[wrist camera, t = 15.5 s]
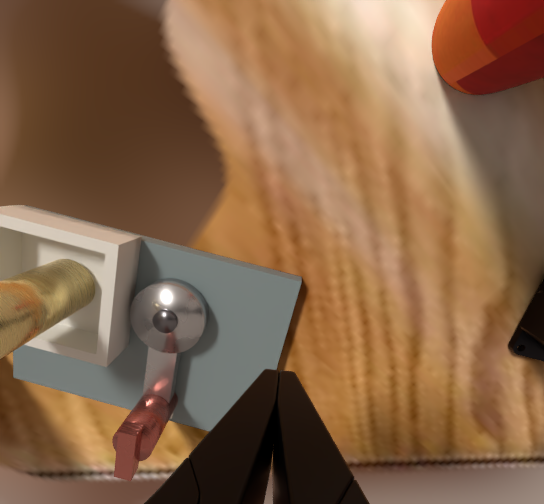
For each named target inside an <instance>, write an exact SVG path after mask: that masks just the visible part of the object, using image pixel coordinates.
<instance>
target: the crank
mask: <svg viewBox="0 0 544 504" xmlns="http://www.w3.org/2000/svg"><path fill="white" fill-rule="evenodd" d="M130 320H131V324H132V327H133V329H134V331H135V333H136V334H137V336H138V337H139V338H140V339H141V341H143V342H144V343H145V344H146V345H147V346H149V348H148V357H147V365H146V373H145V381H144V389H143V395H142V397H141V398H140V400H139V401H138V402H137V404H136V405H135V407H134V408H133V409H132V411H131V412H130V414H129V415H128V416H127V418H126V419H125V421H124V422H123V423H122V425H121V426H120V428H119V429H118V430H117V432H116V433H115V435H114V436H113V446H114V449H115V450H116V461H115V471H114V477H118V478H121V479H125V480H129V481H131V480H132V478H133V476H134V474H135V473H136V471H137V469H138V463H139V461H143V460H145V459H147V458H148V457H149V456H150V454H151V453H152V451H153V449H154V447H155V445H156V443H157V441H158V439H159V438H160V436H161V434H162V432H163V430H164V428H165V426H166V424H167V423H168V421H169V419H170V417H171V415H172V413H173V411H174V409H175V408H176V406H177V403H178V398H177V395H176V393H175V387H176V380H177V374H178V368H179V362H180V355H181V352H184V351H186V350H188V349H190V348H191V347H193V346H194V345H195V344H196V343H197V342H198V340H199V339H200V337H201V335H202V334H203V332H204V330H205V329H206V327H207V324H208V320H209V310H208V306H207V303H206V301H205V299H204V297H203V296H202V294H201V293H200V292H199V291H198V290H197V289H196V288H195V287H194V286H192V285H191V284H189V283H187V282H185V281H183V280H180V279H175V278H165V279H160V280H157V281H155V282H153V283H152V284H150V285H149V286H148V287H146V288H145V289H143V290H142V291H141V292H139V293H138V294H137V296H136V297H135V298H134V300H133V302H132V305H131V309H130Z"/></svg>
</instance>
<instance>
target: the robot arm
mask: <svg viewBox="0 0 544 504" xmlns="http://www.w3.org/2000/svg"><path fill="white" fill-rule="evenodd" d="M519 345H521V346H520V347H518V346H519ZM517 347H518V348H517ZM509 348H510V349H511V350H512V351H513V352H514V353H516V354H518V355H522V356H525V357H529V358H533V359H537V360H541V361H544V279H543V281H542V283H541V285H540V287H539V288H538V290H537V292H536V294H535V296H534V298H533V300H532V301H531V303H530V305H529V307H528V309H527V311H526V313H525V315H524V316H523V318H522V320H521V322H520V324H519V326H518V328H517V330H516V331H515V333H514V335H513V337H512V339H511V341H510V343H509ZM273 444H274V446H273ZM272 455H273V461H272ZM271 463H272V480H273V504H369V502H368V500H367V499H366V497H365V495H364V493H363V491H362V490H361V488H360V487H359V484H358V483H357V481H356V480H354V476H353V474H352V472H351V470H350V469H349V467H348V465H347V463H346V462H345V460H344V458H343V456H342V455H341V453H340V451H339V449H338V448H337V446H336V444H335V442H334V441H333V439H332V437H331V435H330V433H329V432H328V430H327V428H326V426H325V425H324V423H323V421H322V419H321V418H320V416H319V414H318V412H317V411H316V409H315V407H314V405H313V404H312V402H311V400H310V398H309V396H308V395H307V393H306V391H305V389H304V388H303V386H302V384H301V382H300V381H299V379H298V377H297V375H296V374H295V372H292V371H280V373H279V371H278V370H273V369H264V370H263V371H262V373H261V374H260V375H259V376H258V377H257V378H256V379H255V381H254V382H253V383H252V384H251V385H250V386H249V387H248V389H247V390H246V391H245V392H244V393H243V394H242V395H241V397H240V398H239V399H238V400H237V401H236V402H235V403H234V405H233V406H232V407H231V408H230V409H229V410H228V411H227V413H226V414H225V415H224V416H223V417H222V418H221V419H220V421H219V422H218V423H217V424H216V425H215V426H214V427H213V429H212V430H211V431H210V432H209V433H208V434H207V435H206V437H205V438H204V439H203V440H202V441H201V442H200V443H199V444H198V446H197V447H196V448H195V449H194V450H193V451H192V452H191V454H190V455H189V458H186V459H185V460H184V461H183V462H182V464H181V465H180V466H179V467H178V468H177V469H176V471H175V472H174V473H173V474H172V475H171V476H170V477H169V478H168V479H167V480H166V481H165V483H164V484H163V485H162V486H161V487H160V488H159V489H158V490H157V491H156V492H155V494H153V495H152V496H151V497H150V498H149V499H148V500H147V501H146V502H145V503H144V504H264V500H265V495H266V489H267V484H268V480H269V475H270V469H271Z"/></svg>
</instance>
